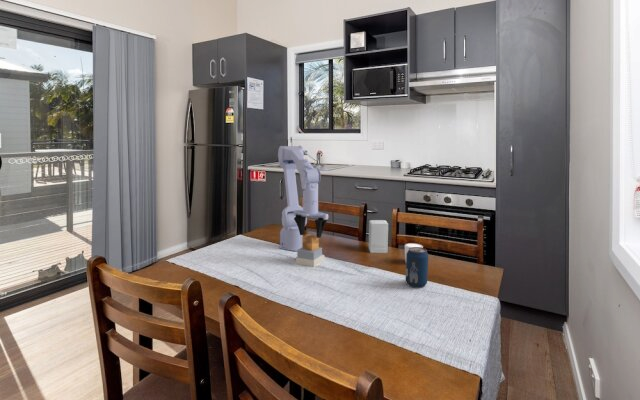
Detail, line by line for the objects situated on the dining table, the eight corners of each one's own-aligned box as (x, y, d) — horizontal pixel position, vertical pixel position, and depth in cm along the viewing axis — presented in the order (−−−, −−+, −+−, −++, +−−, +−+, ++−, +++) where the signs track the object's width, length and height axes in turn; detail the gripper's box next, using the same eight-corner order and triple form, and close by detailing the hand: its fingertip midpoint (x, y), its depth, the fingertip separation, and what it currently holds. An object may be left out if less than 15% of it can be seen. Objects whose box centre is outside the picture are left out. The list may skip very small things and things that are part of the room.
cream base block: (295, 264, 150) (295, 257, 150) (307, 259, 157) (306, 251, 156) (313, 268, 146) (313, 260, 146) (324, 262, 153) (324, 254, 153)
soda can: (423, 280, 133) (425, 246, 131) (429, 288, 126) (431, 252, 124) (403, 280, 133) (404, 246, 131) (408, 288, 126) (409, 252, 124)
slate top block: (297, 257, 149) (297, 249, 149) (306, 252, 156) (306, 245, 155) (313, 260, 146) (313, 252, 146) (322, 255, 152) (322, 247, 152)
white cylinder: (422, 266, 147) (423, 248, 146) (403, 265, 148) (404, 247, 147) (421, 260, 154) (422, 243, 153) (403, 259, 155) (404, 242, 154)
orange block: (302, 248, 150) (302, 236, 149) (309, 246, 154) (309, 233, 153) (312, 250, 148) (312, 238, 147) (318, 248, 151) (318, 235, 150)
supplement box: (387, 253, 163) (388, 223, 161) (369, 253, 164) (370, 223, 161) (385, 248, 171) (386, 219, 169) (368, 248, 171) (368, 219, 169)
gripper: (288, 200, 148) (288, 235, 150) (321, 204, 141) (321, 241, 143) (299, 198, 154) (299, 231, 156) (331, 201, 147) (331, 236, 149)
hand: (310, 235), depth 150 cm, fingers open, 7 cm apart
